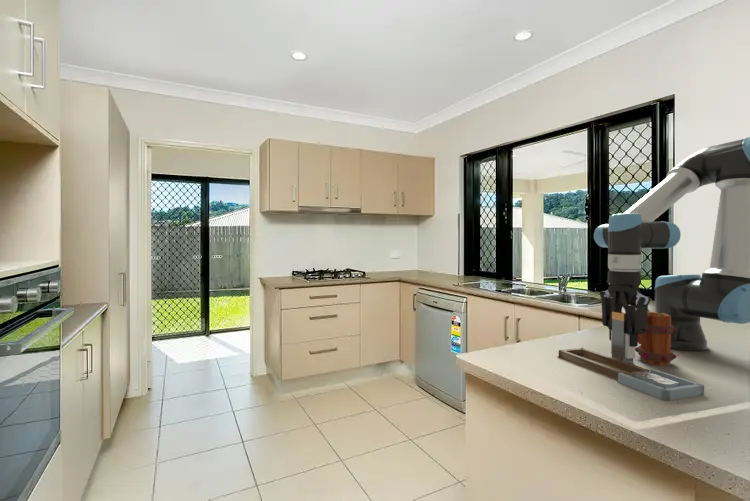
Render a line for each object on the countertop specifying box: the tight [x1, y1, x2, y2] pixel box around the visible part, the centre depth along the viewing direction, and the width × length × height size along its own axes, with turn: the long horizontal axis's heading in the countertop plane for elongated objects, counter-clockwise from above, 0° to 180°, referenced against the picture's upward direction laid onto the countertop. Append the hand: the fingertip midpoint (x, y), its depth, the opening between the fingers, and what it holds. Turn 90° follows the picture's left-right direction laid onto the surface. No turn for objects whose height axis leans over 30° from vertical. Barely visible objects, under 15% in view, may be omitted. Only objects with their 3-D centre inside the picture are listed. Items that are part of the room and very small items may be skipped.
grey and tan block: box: [611, 310, 634, 364], centre depth 102 cm, size 4×4×14 cm
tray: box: [617, 368, 705, 402], centre depth 84 cm, size 11×11×3 cm
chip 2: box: [647, 377, 679, 389], centre depth 83 cm, size 4×4×2 cm
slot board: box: [556, 347, 650, 382], centre depth 99 cm, size 10×20×3 cm, turn 16°
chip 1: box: [631, 371, 661, 382], centre depth 87 cm, size 4×4×2 cm
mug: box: [635, 308, 677, 367], centre depth 105 cm, size 15×8×15 cm, turn 168°
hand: (622, 355), depth 102 cm, fingers closed on grey and tan block, 3 cm apart
